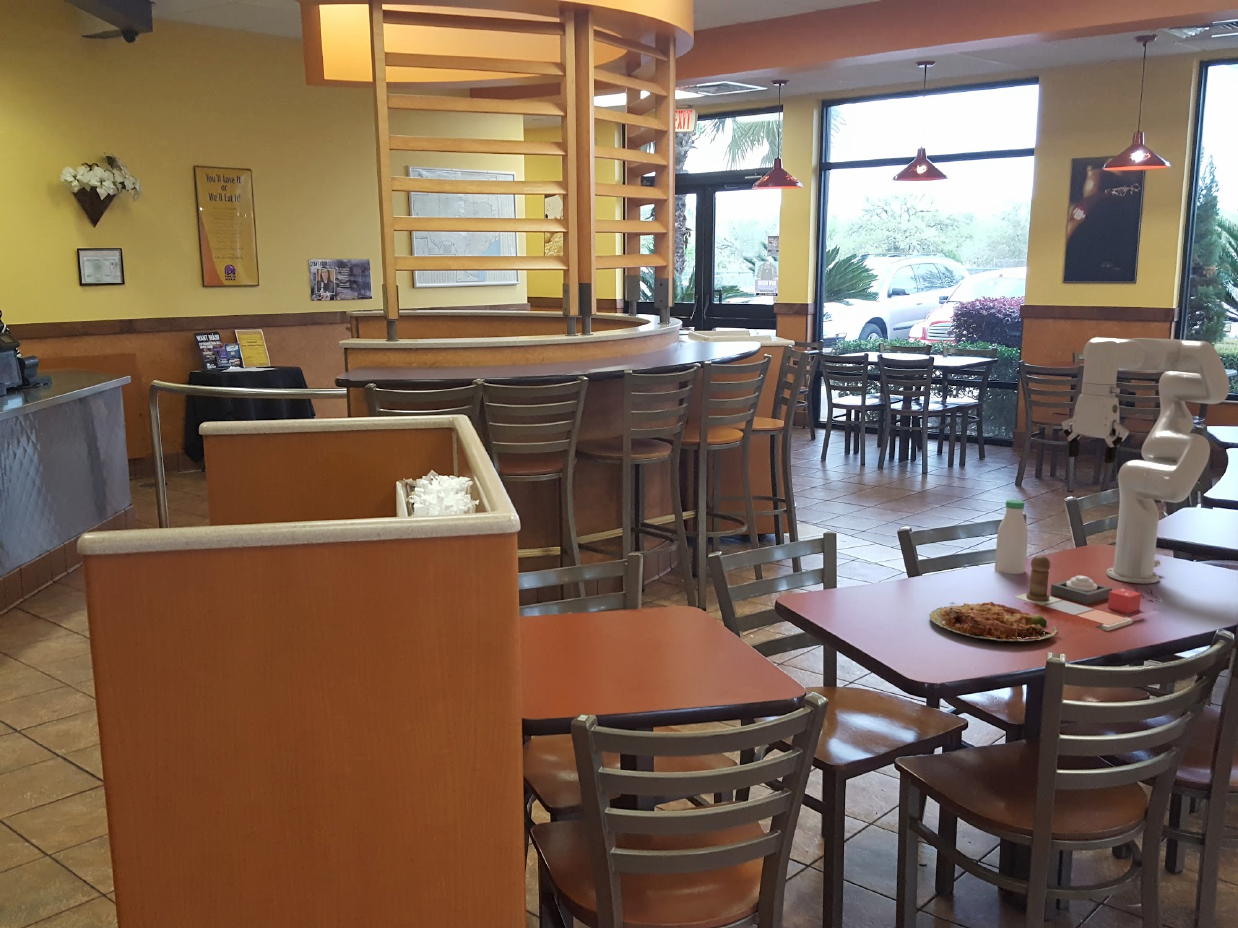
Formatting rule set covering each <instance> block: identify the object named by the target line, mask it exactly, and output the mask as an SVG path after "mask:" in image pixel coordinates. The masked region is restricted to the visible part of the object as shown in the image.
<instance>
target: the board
mask: <svg viewBox="0 0 1238 928" xmlns="http://www.w3.org/2000/svg"><path fill="white" fill-rule="evenodd" d="M1026 596H1027V592H1026V593H1023V594H1018V595H1014V596H1013V598H1015V599H1019V600H1022V601H1026V602H1029V603H1033V604H1037V605H1039V606H1044V607H1046V608H1049V609H1053V610H1056V611H1059V612H1062V613H1066V614H1070V615H1073V616H1075V615H1076V617H1080V618H1083V619H1086V620H1090V621H1093V622H1097V623H1100V625H1096V626H1095V628H1096V629H1098V630H1099V629H1100V630H1103V631H1106V632H1109V631H1113V630H1115V629H1118V628H1122V627H1125V626H1128V625H1131V624H1133V621H1134V620H1133V618H1130V617H1128V616H1126V617H1123V616H1120V615H1117V614H1112V613H1109V612H1105V611H1102V610H1099V609H1094V608H1092V607H1089V606H1085V605H1081V604H1078V603H1076V602H1075V603H1074V602H1072V601H1067V600H1063V599H1061V598H1057V597H1054V596H1050V595H1049V600H1048V601H1033V600H1030V599H1028V598H1027V597H1026Z"/></svg>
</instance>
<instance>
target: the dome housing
mask: <svg viewBox="0 0 1238 928" xmlns="http://www.w3.org/2000/svg"><path fill="white" fill-rule="evenodd" d="M1069 580H1071V578H1070V579H1067V580H1064V581H1063V580H1062V581H1060V582H1056V583H1052V584H1051V585H1050V595H1053V596H1056V597H1060V598H1063V599H1067V600H1071V601H1074V602H1077V603H1081V604H1085V605H1091V604H1094V603H1098V602H1101V601H1104V600H1109V592H1110V591H1113V588H1112V587H1109V586H1107V585H1106V586H1105V585H1101V584H1099V583H1098V584H1097V583H1095V584H1096V585H1097V590H1095V591H1091V592H1088V593H1086V592H1082V591H1079V590H1075V589H1072V588H1068V587H1066V582H1067V581H1069Z"/></svg>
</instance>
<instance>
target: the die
mask: <svg viewBox="0 0 1238 928" xmlns="http://www.w3.org/2000/svg"><path fill="white" fill-rule="evenodd" d="M1141 598H1142V594H1141V593H1140V592H1136V591H1132V590H1128V589H1125V588H1121V587H1120V588H1117V589H1115V590H1112V591H1110V592H1109V598H1108V599H1107V608H1108V609H1111V610H1115V611H1118V612H1122V613H1126V614H1129V613H1132V612H1135V611H1139V610H1140V605H1141ZM1136 615H1139V613H1135V614H1132V615H1130V616H1128V618H1130V617H1133V616H1136Z"/></svg>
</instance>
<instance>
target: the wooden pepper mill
mask: <svg viewBox="0 0 1238 928" xmlns="http://www.w3.org/2000/svg"><path fill="white" fill-rule="evenodd" d="M1030 567H1031V570H1030V581H1029V582H1030V583H1029V591H1027V592H1026V593H1027V596H1026V597H1027V598H1028V599H1030V600H1033V601H1048V600H1049V596H1050V594H1049V593H1048V587H1049V586H1048V584H1049V583H1048V582H1049V574H1050V573H1049V572H1050V571H1049V570H1050V568H1051V561H1050V560H1049V558H1048V557H1047V556H1045V555H1036V556H1034V557H1033V558H1032V560H1031V563H1030Z"/></svg>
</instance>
